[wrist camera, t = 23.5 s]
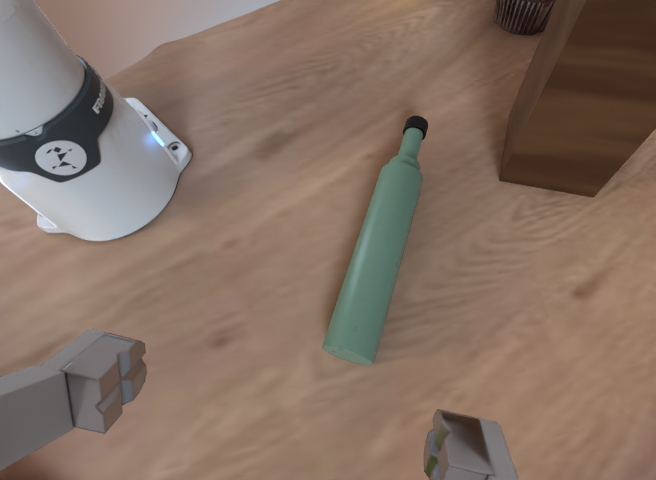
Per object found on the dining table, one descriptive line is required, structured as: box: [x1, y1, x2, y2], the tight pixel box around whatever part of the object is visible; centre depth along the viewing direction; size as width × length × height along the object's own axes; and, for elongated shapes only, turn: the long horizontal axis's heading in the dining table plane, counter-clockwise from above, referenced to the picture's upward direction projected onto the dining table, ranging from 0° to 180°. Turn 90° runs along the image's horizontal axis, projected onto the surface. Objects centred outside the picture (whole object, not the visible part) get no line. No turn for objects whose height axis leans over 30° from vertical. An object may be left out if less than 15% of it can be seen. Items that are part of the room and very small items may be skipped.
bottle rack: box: [500, 0, 656, 197], centre depth 29 cm, size 11×10×26 cm
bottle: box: [322, 116, 428, 365], centre depth 36 cm, size 26×4×4 cm
